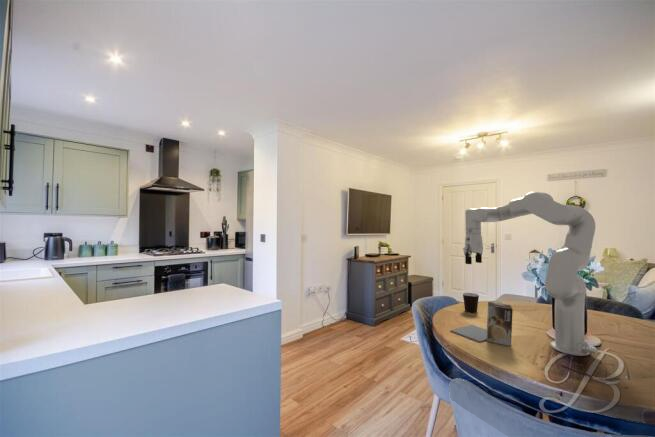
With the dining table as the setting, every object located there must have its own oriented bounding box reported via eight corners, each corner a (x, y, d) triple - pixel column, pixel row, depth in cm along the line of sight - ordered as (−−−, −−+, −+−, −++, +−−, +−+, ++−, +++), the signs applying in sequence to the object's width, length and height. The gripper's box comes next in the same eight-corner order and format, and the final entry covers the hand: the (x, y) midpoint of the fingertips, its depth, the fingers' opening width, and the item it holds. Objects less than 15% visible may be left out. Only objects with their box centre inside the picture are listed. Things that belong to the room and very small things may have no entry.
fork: (562, 365, 110) (562, 360, 110) (620, 386, 96) (620, 380, 96) (559, 367, 108) (559, 361, 108) (617, 389, 94) (617, 382, 94)
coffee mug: (467, 308, 181) (466, 291, 181) (481, 311, 174) (481, 294, 174) (457, 312, 173) (457, 295, 174) (472, 315, 167) (472, 297, 167)
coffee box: (509, 340, 132) (511, 304, 131) (511, 346, 126) (513, 309, 125) (485, 335, 136) (488, 301, 135) (486, 341, 130) (488, 305, 129)
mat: (501, 335, 137) (501, 334, 137) (479, 342, 130) (479, 341, 130) (471, 325, 151) (471, 324, 151) (450, 331, 143) (450, 330, 143)
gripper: (470, 232, 152) (471, 265, 152) (488, 231, 161) (489, 262, 161) (457, 231, 158) (457, 263, 158) (475, 231, 168) (475, 261, 167)
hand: (473, 263), depth 160 cm, fingers open, 9 cm apart
